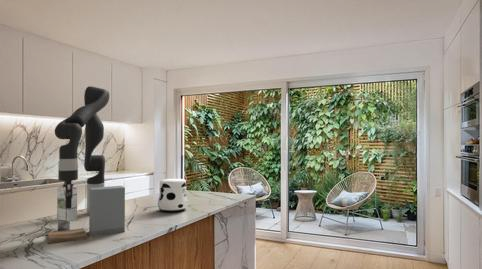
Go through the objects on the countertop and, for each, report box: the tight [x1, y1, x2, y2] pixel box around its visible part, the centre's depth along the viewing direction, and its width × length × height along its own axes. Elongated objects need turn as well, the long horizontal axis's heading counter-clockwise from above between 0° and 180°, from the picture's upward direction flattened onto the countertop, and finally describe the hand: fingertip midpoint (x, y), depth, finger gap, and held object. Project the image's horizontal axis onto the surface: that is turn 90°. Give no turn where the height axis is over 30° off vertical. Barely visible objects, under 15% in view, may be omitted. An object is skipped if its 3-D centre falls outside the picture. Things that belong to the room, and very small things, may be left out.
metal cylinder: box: [57, 220, 71, 231], centre depth 153 cm, size 5×5×8 cm
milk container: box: [157, 178, 188, 213], centre depth 197 cm, size 17×17×18 cm
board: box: [48, 227, 88, 244], centre depth 142 cm, size 14×14×1 cm
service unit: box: [88, 185, 126, 237], centre depth 150 cm, size 9×14×20 cm, turn 120°
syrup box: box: [56, 185, 78, 222], centre depth 142 cm, size 6×6×14 cm
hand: (67, 206), depth 142 cm, fingers closed on syrup box, 8 cm apart
